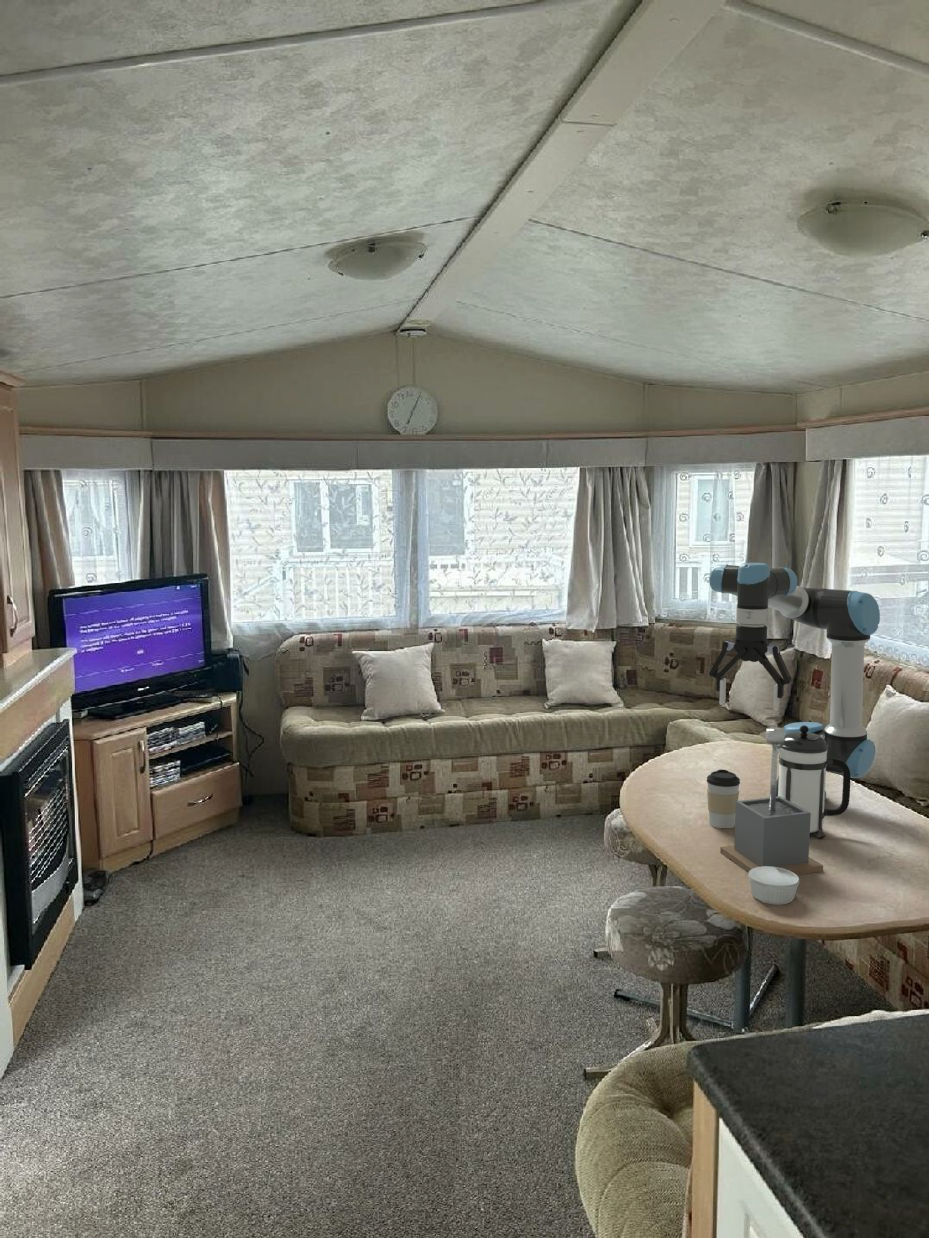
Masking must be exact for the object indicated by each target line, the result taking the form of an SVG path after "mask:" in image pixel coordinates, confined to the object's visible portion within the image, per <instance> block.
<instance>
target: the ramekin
mask: <svg viewBox="0 0 929 1238" xmlns="http://www.w3.org/2000/svg"><path fill="white" fill-rule="evenodd" d="M747 873H748V872H747ZM747 875H748V879H749V886H750V891H751V894H752V896H753V898H755V899H756V900H758V901H759V902H761V903H764V904H767V905H776V906H777V905H787V904H789V903H791V902H792V901H794V900H795V897H796V893H797V890H798V886H799V884H800V878H799V875H796V874H794V873H793V872H791V871H789V870H786V869H783V868H778V867H770V866H762V867H756V868H753V869H751V870H750V871H749V873H748V874H747Z"/></svg>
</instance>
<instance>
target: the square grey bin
mask: <svg viewBox="0 0 929 1238" xmlns="http://www.w3.org/2000/svg"><path fill="white" fill-rule="evenodd" d="M776 801H779V802H780V803H782V804H784V805H786V806H788V807H789V808H791V809H793V810H795V811H797V812H798V813H791V814H783V815H774V816H764V815H762V814H761V813H759V812H757V811H756V810H754V809H752V808H751V807H749V806H747V805H749V804H758V803H767V802H770V796H769V797H763V798H761V797H760V798H753V799H744V800H738V801H736V810H735V826H734V843H733V845H727V846H720V851H719V853H720V854H722V855H723V856H724V857H726V858H728V860H730V859H731V860H730V861H731V862H733V863H734V864H736V865H737V866H738V867H740V868H741V869H743V870H744V871H746V872H747V873H749V871H750V870H751V869H753V868H756V867H762V866H770V867H778V868H783V869H786V870H789V871H791V872H793V873H794V874H796V875H797V876H799V875H805V874H813V873H820V872H821V873H822V872H824V865H823V864H821V863H820V862H819V861H817V860H816V859H814V858H812V857H810V838H811V837H810V834H811V833H810V816H811V813H810V812H808V811H806V810H804V809H803V808H801V807H799V806H797V805H795V804H793V803H792V802H790V801H788V800H786V799H784V798H782V797H781V796H778V797H776Z"/></svg>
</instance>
